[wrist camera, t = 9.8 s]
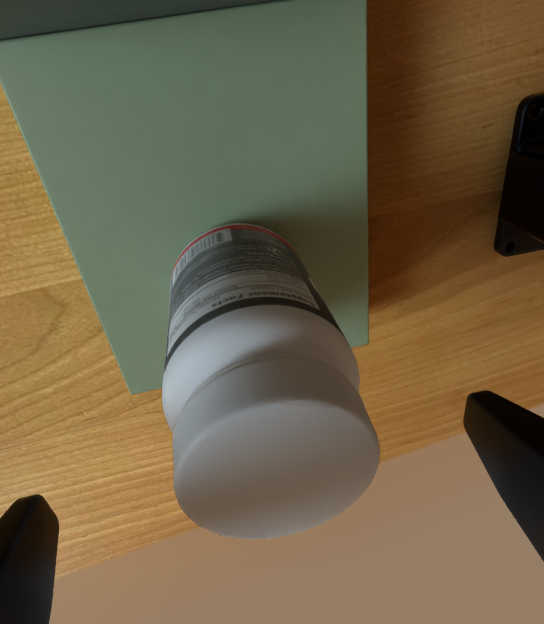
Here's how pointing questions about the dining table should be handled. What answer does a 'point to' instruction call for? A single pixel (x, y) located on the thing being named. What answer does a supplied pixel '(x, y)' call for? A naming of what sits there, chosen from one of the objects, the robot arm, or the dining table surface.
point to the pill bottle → (260, 390)
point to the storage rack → (194, 143)
